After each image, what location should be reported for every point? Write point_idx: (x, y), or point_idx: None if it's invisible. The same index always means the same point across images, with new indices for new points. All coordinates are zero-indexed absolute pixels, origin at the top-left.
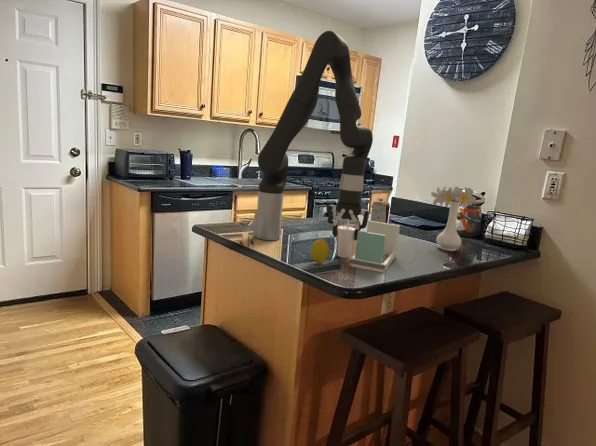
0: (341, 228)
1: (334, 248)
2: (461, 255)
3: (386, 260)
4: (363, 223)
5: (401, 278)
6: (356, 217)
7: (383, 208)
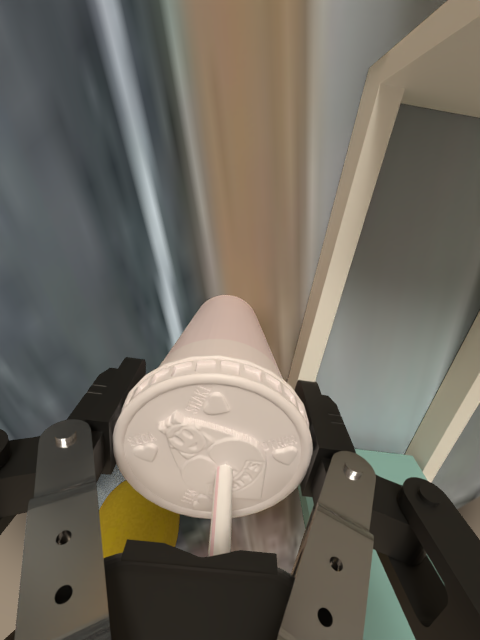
0: (168, 485)
1: (133, 153)
2: None
3: (459, 415)
4: (412, 594)
5: (465, 495)
6: (337, 593)
7: None
